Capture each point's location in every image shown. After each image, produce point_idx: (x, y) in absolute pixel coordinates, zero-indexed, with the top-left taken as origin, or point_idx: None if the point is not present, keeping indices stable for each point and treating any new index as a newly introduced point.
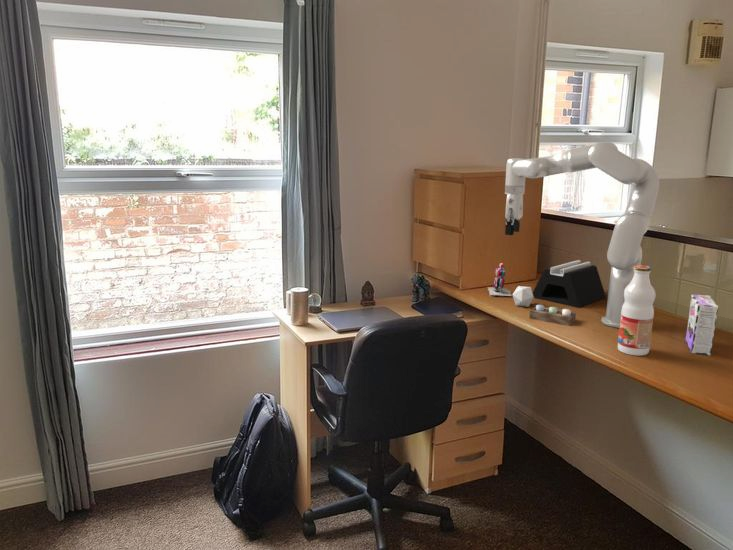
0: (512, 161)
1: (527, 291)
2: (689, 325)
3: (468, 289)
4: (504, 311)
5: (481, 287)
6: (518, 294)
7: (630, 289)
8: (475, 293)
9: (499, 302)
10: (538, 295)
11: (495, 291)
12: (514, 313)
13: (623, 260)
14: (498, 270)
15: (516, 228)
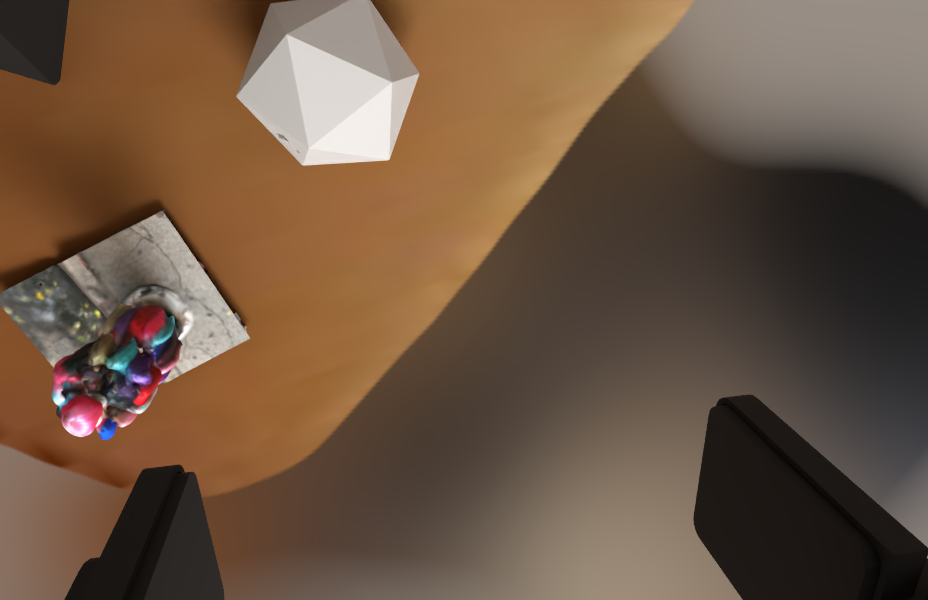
0: None
1: (367, 43)
2: None
3: None
4: (535, 146)
5: (54, 460)
6: (397, 110)
7: None
8: (232, 430)
9: (351, 239)
10: (55, 15)
11: (179, 333)
12: (550, 76)
13: None
14: (141, 401)
15: (187, 565)
